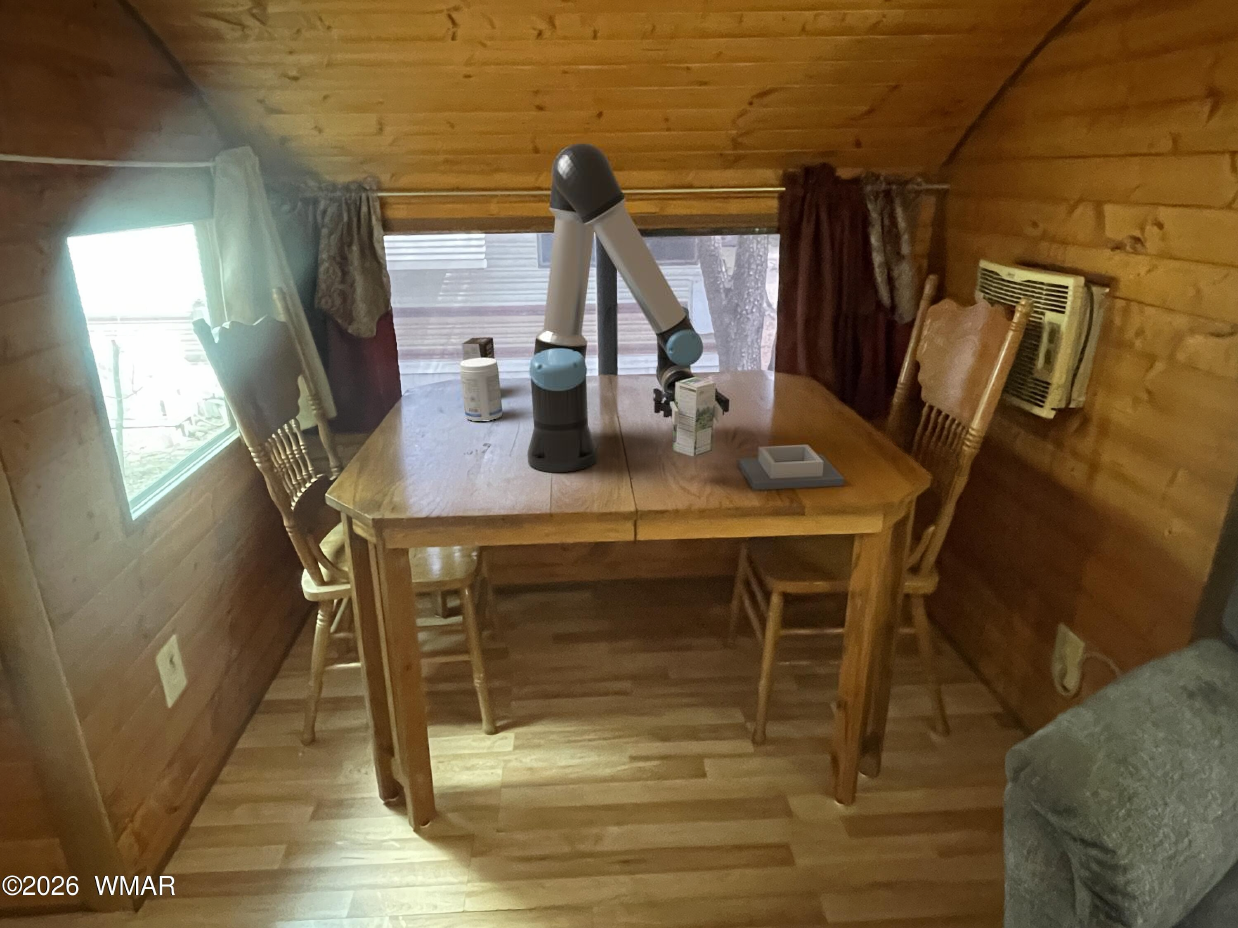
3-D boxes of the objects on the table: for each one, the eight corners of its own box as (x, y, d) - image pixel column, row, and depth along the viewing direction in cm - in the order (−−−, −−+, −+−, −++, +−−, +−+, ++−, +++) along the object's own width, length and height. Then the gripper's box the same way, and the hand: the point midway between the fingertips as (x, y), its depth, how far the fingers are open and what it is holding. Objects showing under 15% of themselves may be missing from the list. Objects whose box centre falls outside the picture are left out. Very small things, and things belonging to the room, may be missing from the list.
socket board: (753, 490, 154) (754, 468, 153) (738, 465, 168) (738, 445, 166) (843, 485, 156) (845, 464, 154) (821, 461, 169) (822, 441, 167)
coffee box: (488, 401, 218) (483, 343, 212) (466, 401, 219) (460, 343, 213) (498, 392, 226) (493, 336, 221) (476, 392, 227) (471, 336, 222)
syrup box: (690, 444, 163) (693, 375, 158) (713, 451, 159) (716, 381, 154) (672, 450, 159) (674, 380, 154) (694, 458, 155) (697, 386, 150)
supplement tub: (498, 410, 210) (493, 355, 205) (506, 420, 201) (502, 363, 196) (461, 415, 207) (456, 359, 201) (468, 425, 198) (463, 367, 193)
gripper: (726, 402, 175) (750, 435, 154) (633, 404, 174) (644, 437, 152) (728, 369, 172) (752, 397, 151) (633, 370, 171) (645, 399, 150)
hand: (698, 417), depth 152 cm, fingers closed on syrup box, 8 cm apart
